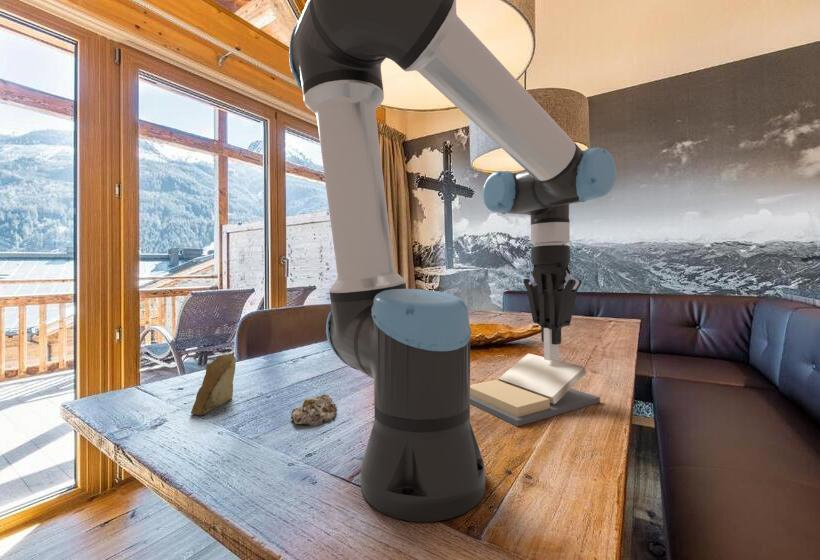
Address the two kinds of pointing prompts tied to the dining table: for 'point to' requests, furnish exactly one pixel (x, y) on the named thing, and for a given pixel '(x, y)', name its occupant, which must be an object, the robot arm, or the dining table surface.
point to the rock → (216, 385)
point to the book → (543, 376)
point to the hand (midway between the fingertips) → (551, 359)
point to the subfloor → (524, 402)
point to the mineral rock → (315, 411)
